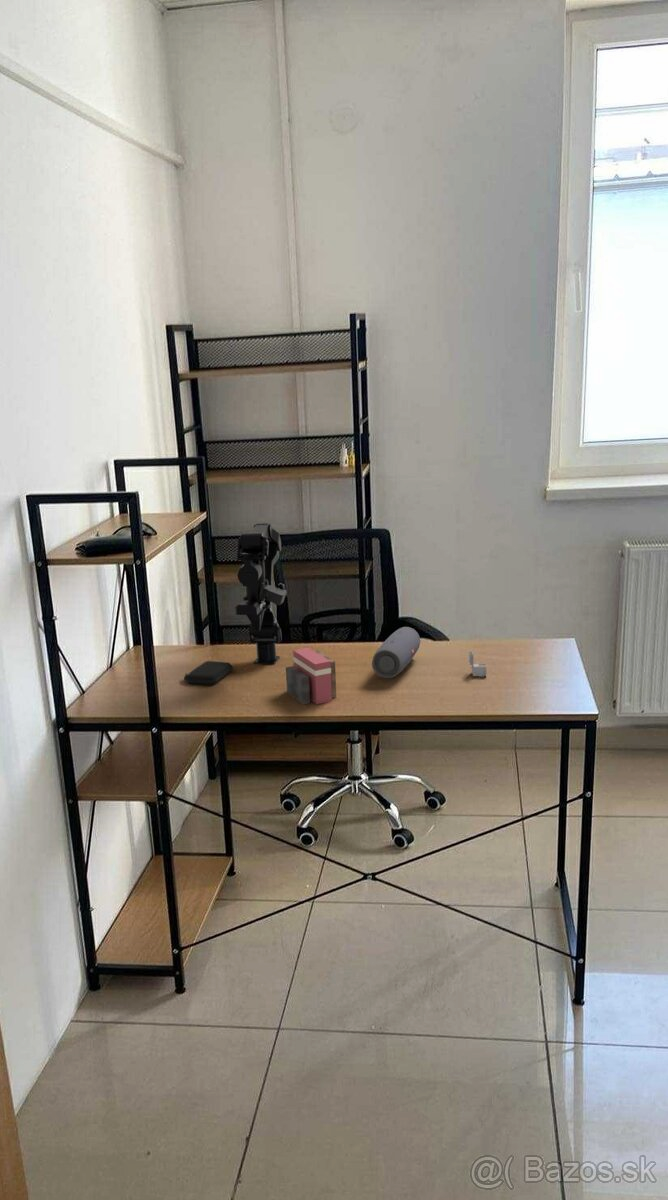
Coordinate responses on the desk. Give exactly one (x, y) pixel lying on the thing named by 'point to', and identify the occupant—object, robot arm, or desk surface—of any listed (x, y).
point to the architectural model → (477, 667)
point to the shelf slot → (305, 682)
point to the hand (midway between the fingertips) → (258, 631)
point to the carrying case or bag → (208, 673)
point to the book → (315, 673)
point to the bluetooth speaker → (396, 652)
